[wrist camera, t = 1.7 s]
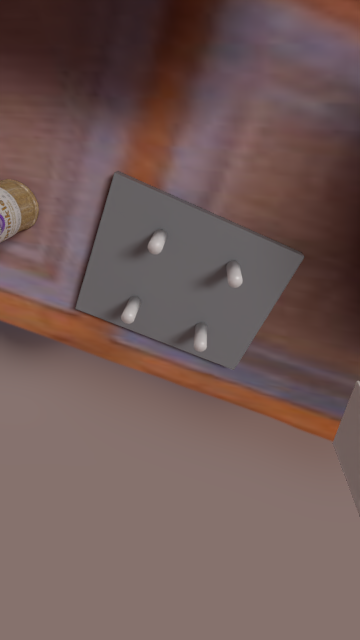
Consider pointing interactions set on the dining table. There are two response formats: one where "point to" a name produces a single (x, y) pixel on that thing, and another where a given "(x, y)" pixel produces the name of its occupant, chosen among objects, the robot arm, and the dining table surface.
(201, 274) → the pin tray
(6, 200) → the sprinkles bottle
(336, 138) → the dining table surface
